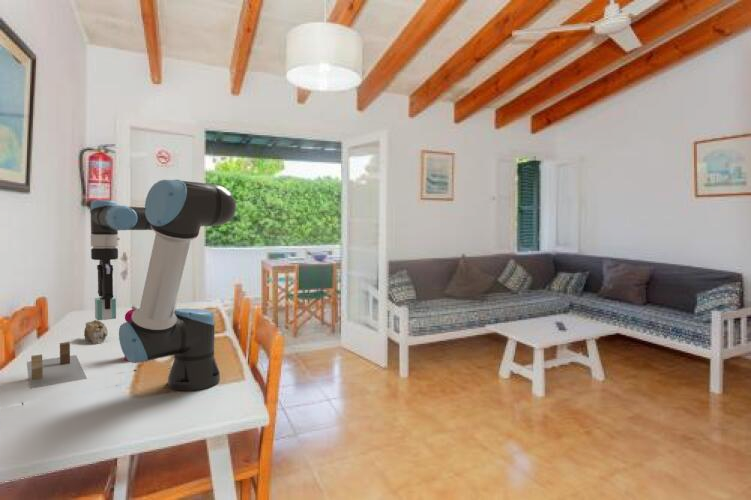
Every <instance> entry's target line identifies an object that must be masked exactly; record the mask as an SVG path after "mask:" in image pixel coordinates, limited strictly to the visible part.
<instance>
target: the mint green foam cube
mask: <svg viewBox="0 0 751 500" xmlns="http://www.w3.org/2000/svg"><path fill="white" fill-rule="evenodd" d="M116 301H117V299H116V298H115V297H114V296H113V298H112V319H111V320H115V319H117V302H116ZM94 318H95V320H96V321H106V320H108V319H103V320H102V300H100V298H99V297H95V298H94Z"/></svg>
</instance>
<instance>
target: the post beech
mask: <svg viewBox="0 0 751 500" xmlns="http://www.w3.org/2000/svg"><path fill="white" fill-rule="evenodd" d="M30 356H31V358H30V359H31V360H30V361H31V368H32V380H37V379H43V369H42V360H43V355H42V354H35V355H30Z"/></svg>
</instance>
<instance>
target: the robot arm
mask: <svg viewBox="0 0 751 500" xmlns="http://www.w3.org/2000/svg"><path fill="white" fill-rule="evenodd" d="M150 187H151V188H149V190H148V193H147V194H146V198H145V203H144V207H141V206H127V205H118V203H117V202H116V201H115V200H107V199H106V200H104V199H103V200H102V199H100V200H99V199H98V200H97V199H96V200H91V202H90V209H89V214H90V246H91V247H92V248H91V249H90V254H91V255H90V258H91V259H92V260H94V261H98V262H99V263H98V264H97V265H96V269H97V294H98V298H100V300H102V320H101V321H104V320H103V319H107V320H113V319H112V298H113V297H114V281H113V280H114V279H113V278H114V277H113V274H114V266H113V265H112V263H111V260H117V259H118V258H119V249H118V245H119V243H118V241H120V237H118V236H119V235H118V234H119V231H153V232H154V233H155V235H154V240H153V244H152V250H151V255H150V257H149V258H150V260H149V263H148V267H147V272H146V273H147V274H146V277H145V282H144V287H143V291H142V295H141V300H140V305H139V308H138V307H137V309H136V310H135V311H134V312H133V313H132V317H131V321H130V322H127V321H125V322H124V323H122V324H120V326H119V329H118V340H119V345H120V348H121V351H122V353H123V355H124V358H125V357H126V358H127V360H128V361H127V362H130V363H132V364H138V363H147V362H149V361H153V360H159V359H163V358H166V357H171V356H173V359H174V360H173V363H172V365H171V368H170V372H169V375H168V378H167V387H168V388H170V389H171V390H174V391H178V392H179V391H180V392H190V391H191V392H192V391H200V390H205V389H208V388H211V387H213V386H216V385H217V384H218V383H220V380H221V372H220V368H219V366H218V364H217V360H216V358H215V326H216V324H215V323H216V322H215V315H214V313H213V312H212V311H210V310H208V309H207V310H206V309H201V308H200V309H199V308H176V309H175V306H176V301H177V298H178V294H179V290H180V286H181V282H182V277H183V273H184V271H185V270H184V269H185V265H186V261H187V257H188V252H189V250H190V249H189V248H190V245H191V241H193V240H195V239H197V238H198V236H199V234H200V231H201V230H200V229H201V227H217V226H223V225H225V224H227V223H228V222H230V221H231V220H232V219H233V217H234V216H235V213H236V210H237V204H236V200H235V197H234V196H233V194H232V193H231V192H230V190H228V188H225V187H223V186H222V185H219V184H214V183H206V182H197V181H187V180H180V179H161V180H158V181H156V183H154V184H153V185H152V186H150Z"/></svg>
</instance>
